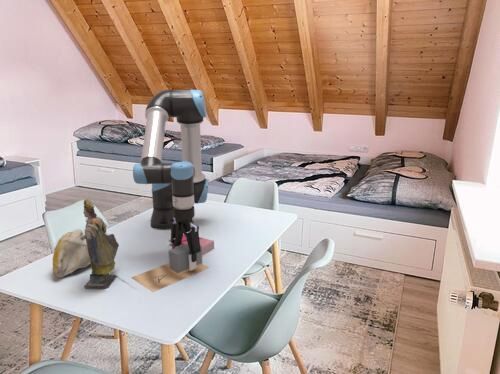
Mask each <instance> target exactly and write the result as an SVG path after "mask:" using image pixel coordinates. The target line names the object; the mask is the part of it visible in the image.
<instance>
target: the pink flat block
mask: <svg viewBox="0 0 500 374" xmlns="http://www.w3.org/2000/svg"><path fill="white" fill-rule="evenodd" d="M199 240H200V245H202V256H204V255H206V254H207V253H210V252H211V251H212V250H214V249H215V240H213V239H208V238H204V237H201V236H199ZM168 242H170V243H171V237H170V238H168ZM181 242H182V243H181V245H185V244H188V243H187V239H186V236H185V235H184V234H183V237H182V241H181ZM174 248H175V246H174V244H173V243H171V249H174Z"/></svg>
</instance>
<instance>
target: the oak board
mask: <svg viewBox="0 0 500 374" xmlns="http://www.w3.org/2000/svg"><path fill="white" fill-rule="evenodd" d="M207 269H210V267H209V266H207V265H205V264H203V263H202V265H201V266H199V267H197V268H196V269H194V270H191V271H190V270H189V271H187V272H185V273H182V274H180V275H177V274H175V273H173V272H171V271H170V264H169V262H168V263H165V264H163V265H160V266H157V267H154V268H152V269H150V270H147V271H144V272H142V273H139V274H137V275H133V276H132V277H130V279H132V280H134V281H135V282H137V283H138V284H139V285H142V286H143V287H145V288H146V289H147V290H149V291H150V292H153V293H155V292H156V291H160V290H161V289H163V288H166V287H168V286H170V285H172V284H175V283H178V282H181V281H182V280H185V279H186V278H190V277H191V276H194V275H196V274H198V273H201V272H202V271H205V270H207Z"/></svg>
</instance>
